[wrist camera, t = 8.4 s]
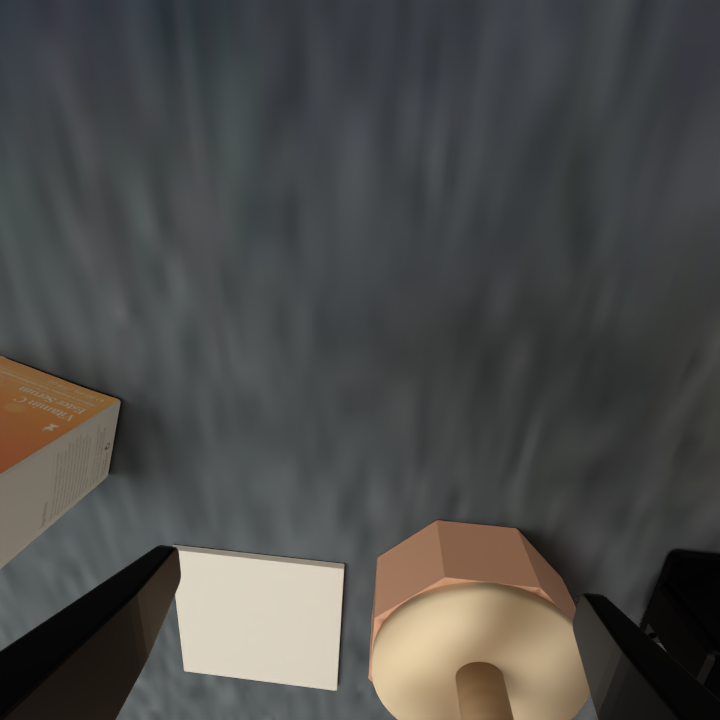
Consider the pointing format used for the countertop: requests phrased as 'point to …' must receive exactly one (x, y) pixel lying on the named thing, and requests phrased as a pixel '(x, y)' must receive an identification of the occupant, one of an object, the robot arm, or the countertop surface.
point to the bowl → (462, 567)
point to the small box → (47, 450)
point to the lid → (478, 656)
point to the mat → (260, 616)
